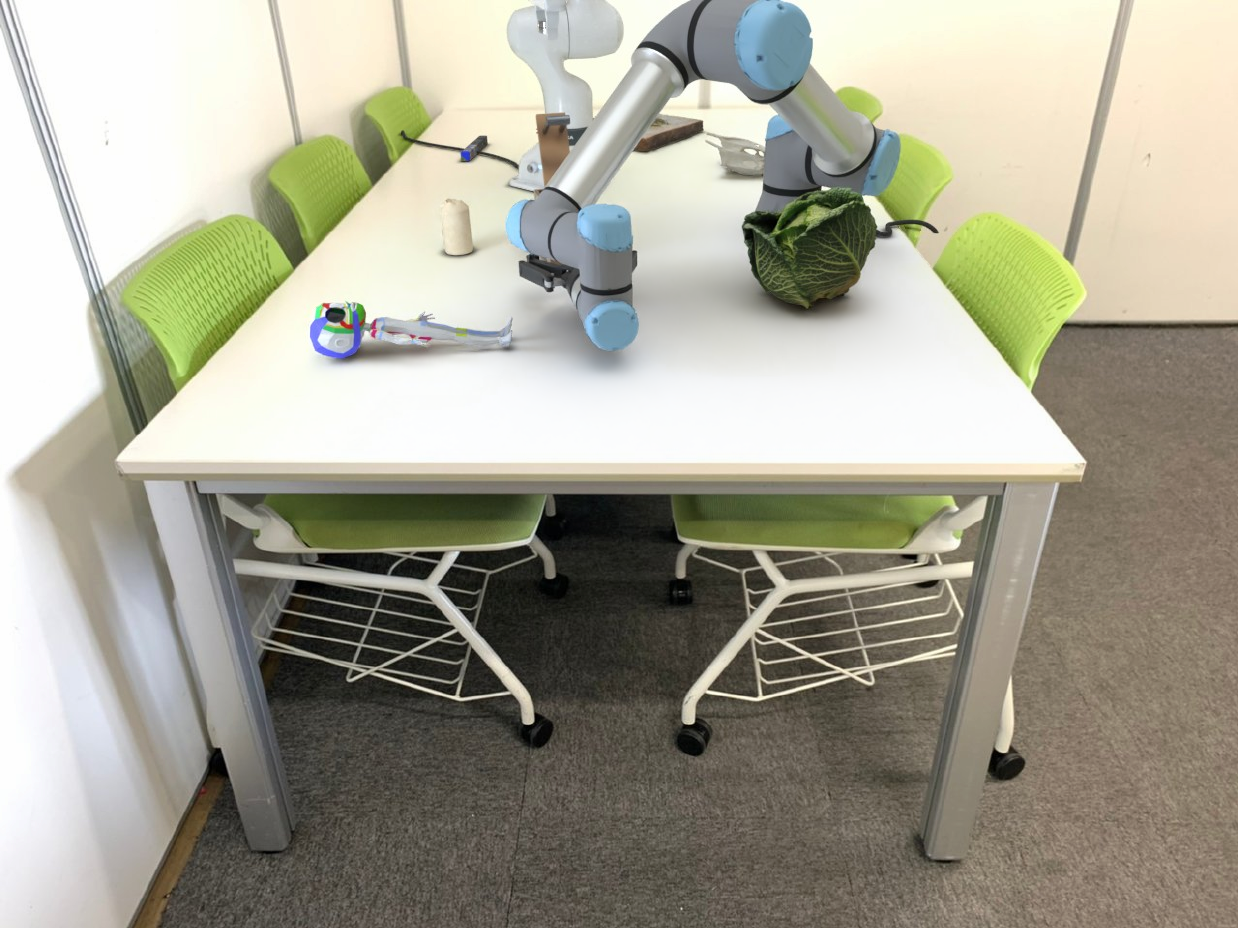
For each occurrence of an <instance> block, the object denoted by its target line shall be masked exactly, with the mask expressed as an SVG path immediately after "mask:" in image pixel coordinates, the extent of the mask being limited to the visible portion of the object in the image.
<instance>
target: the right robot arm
mask: <svg viewBox="0 0 1238 928" xmlns="http://www.w3.org/2000/svg"><path fill="white" fill-rule="evenodd" d="M811 33H812V27H811V23H810V21H809V19H808V17H807V15H806V14H805V12H804V11H803V10H802V8H800V7H799V6H797V5H796V4H794V3H792V2H788V1H783V0H687V1H686V2H684V3H682V4H680V5H679V6H677V7H676V8H674V9H673V10H671V11H670V12H669V13H668V14H667V15H665V16H664V17H663V18H662V19H661V20H660V21H659V22H657V24H655V25H654V26H653V27H652V29H650V31H648V33H647V34H646V35H645V37H643V38H642V40H641V41H640V43H639V44H638V45H637V47H636V48H635V50H634V51H633V52H632V54H631V57H630V63H631V67H630V68H629V69H628V71H627V72H626V74H625V75H624V76H623V77H622V79H621V80H620V81H619V83H618V85H617V86H616V88H615V89H614V90H613V92H612V93H611V95H610V96H608V98H607V100H606V101H605V103H604V104H603V105H602V107H601V109H600V110H598V113H597V114H596V115H595V116H596V117H595V116H594V117H593V118H594V119H593V121H592V122H591V124H590V125H589V126H588V128H587V129H586V131H585V132H584V133H583V135H582V136H581V138H580V139H579V140H578V142H577V143H576V145H575V146H574V147H573V149H572V150H571V151H570V153H569V154H568V156H567V157H566V158H565V160H564V161H563V163H562V164H561V165H560V167H559V168H558V170H557V171H556V172H555V174H554V175H553V177H552V178H551V179H550V181H549V182H548V183H547V185H546V186H545V188H544V190H543V191H542V192H541V193H540V195H539V196H538V197H537V199H536V200H534V199H522V200H519V201H518V202H517V203H514V204H513V205H512V207H511V208H510V209H509V210H508V213H507V216H506V219H505V233H506V236H507V239H508V240H509V242H510V244H511V245H513V246H514V247H515V248H516V249H519V250H521V251H523V252H526V253H528V254H527V255H526V256H525V259H526V260H524V259H522V260H521V259H520V260H518V274H519V277H520V278H523V279H525V280H527V281H529V282H531V283H533V284H535V285H537V286H540V287H541V288H543V289H544V290H545V292H547V293H553V292H554V289H555V288H556V287H562V288H563V289H565V290H566V291H567V293H568V296H569V299H570V300H571V302H572V304H573V306H574V308H575V310H576V312H577V315H578V317H579V319H580V320H581V323H582V325H583V328H584V329H583V330H584V332H585V334H586V335H587V336H588V338H589V339H590V340H591V342H592V343H593V344H594V345H595V346H596V347H597V348H599V349H600V350H604V351H607V352H617V351H620V350H623V349H625V348H626V347H628V346H630V345H631V344H632V343H633V341H635V339H636V337H637V336H638V333H639V330H640V329H639V328H640V321H639V318H638V313H637V312H636V309H635V308H634V304H633V302H634V301H633V300H634V298H633V297H634V296H633V295H634V294H633V293H634V292H633V291H634V290H633V289H634V288H633V287H634V286H633V273H634V272H635V270H636V269H637V267H638V251H637V250H634V249H633V244H634V236H633V231H632V217H631V213H630V212H629V210H628V209H627V208H626V207H623V206H622V205H619V204H613V203H612V204H608V203H597V202H598V200H599V199H600V198H601V196H602V195H603V193H604V192H605V191H606V190H607V188H608V187H609V185H610V184H611V182H612V181H613V179H614V178H615V176H616V175H617V174H618V172H619V171H620V169H621V168H622V167H623V165H624V164H625V163H626V161H627V160H628V158H629V157H630V156H631V154H632V153H633V151H635V150H634V148H635V147H636V146H637V144H638V143H639V141H640V140H641V139H642V137H643V136H644V134H645V133H646V132H647V130H648V129H649V127H650V126H651V124H652V123H653V122H654V120H655V119H656V117H657V116H658V115H659V114H661V112H662V110H663V109H664V108H665V107H666V105H667V104H668V102H669V101H670V99H674V98H678V97H679V96H681V95H682V94H683V92H684V91H685V90H686V88H687V87H688V85H690V84H692V83H693V82H695V81H699V80H705V81H711V82H718V83H723V84H730V85H733V86H734V87H736V88H737V89H738V90H739V92H741V93H742V94H743V95H744V96H745V97H746V98H747V99H748V100H750V101H751V102H753V103H754V104H757V105H762V106H767V105H768V106H770V108H772V110H774V111H775V113H776V115H773V116H772V117H771V118H770V119H769V120H768V122H767V127H766V132H765V133H766V134H765V138H764V142H765V143H764V144H765V146H764V147H765V159H764V174H762V175H763V177H762V192H761V195H760V197H759V200H758V202H757V205H756V207H755V209H754V212H755V211H758V210H762V211H774V212H777V211H779V210H781V209H784V208H785V207H786V205H787V204H789V203H791V202H792V201H793V200H795V199H796V198H798V197H800V196H802V195H804V194H806V193H809V192H814V191H822V187H823V188H829V189H831V188H832V187H834V188H836V187H840V188H852V190H853V191H854V192H856V193H859V194H861V195H862V197H864V196H865V197H866V196H868V197H877V196H880V195H882V194H883V193H884V192H885V191H886V190H887V189H888V187H889V186H890V185H891V183H892V181H893V179H894V176H895V174H896V171H897V169H898V168H897V167H898V166H899V162H900V156H901V149H902V143H901V137H900V135H899V134H898V133H897V132H896V131H893V130H890V129H888V128H887V129H885V130H884V129H881V128H878V127H876V126H875V125H874V124H873V122H872V121H871V120H870V119H869V118H868V117H867V116H866V115H865V114H863V113H861V112H859V111H854V110H853V111H852V110H850V109H849V108H848V106H846V104H845V103H844V102H843V101H842V100H841V99H840V97H839V96H838V95H837V94H836V93H835V92H834V90H833V89H832V87H830V85H829V84H828V83H827V82H826V80H825V79H824V78H823V77H822V76H821V75H820V73H819V72H818V71H817V69H815V68H814V66H813V65H812V63H811V61H812V56H813V50H814V49H813V47H814V39H813V37H810V36H811ZM904 225H916V226H922V227H924V228H926V229H928V230H929V231H931V233H932V234H940V232H939V230H938V229H937V228H936V227H935V226H934V225H933V224H931V223H929V222H927V221H925V220H921V219H902V220H894V221H893V220H892V221H889V222H886V223H885V230H886V231H881V230H879V229H878V228H877V229H876V234H875V236H878V237H890V236H891V235H893V229H892V227H896V226H904ZM540 257H541V258H545V259H546V258H548V259H551V260H554V261H557V262H559V263H562V265H558V264H554V263H551V262H548V261H547V260H543V259H540Z"/></svg>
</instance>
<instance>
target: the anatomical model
mask: <svg viewBox="0 0 1238 928" xmlns="http://www.w3.org/2000/svg"><path fill="white" fill-rule="evenodd" d="M705 135H706V136H710V137H714V138H717V139H718V140H719V141H720V145H721V146H720V145H719V144H716V143H714V142H712V141H710V140H707V139H705V143H707V145H710V146H712V147H714V148H716V149H717V150H718V154H719V156H720V166H721V167H725V169H726V170H727V171H729V172H736V173H737V174H739V175H742V176H760V175H763V174H764V159H765V146H764V145H762V144H760V143H758V142H754V141H752V140H750V139H745V138H741V137H737V136H727V135H726V136H725V135H721V134H717V133H714V132H709V131H708V132H706V134H705ZM746 150H754V151H755V154H751V153H749V152H748V151H746ZM761 152H762V154H763V155H761V154H760V153H761Z"/></svg>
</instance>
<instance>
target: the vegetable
mask: <svg viewBox="0 0 1238 928" xmlns="http://www.w3.org/2000/svg"><path fill="white" fill-rule="evenodd" d="M871 212H872V209H871V207H870V205H869V204H866V203H865V200H864V196H862V195H861V194H859V193H856V192H854V191H853V190H852V188H840V187H836V188H834V187H832V188H829V189H826V190H821V191H814V192H809V193H806V194H804V195H802V196H800V197H798V198H796V199H795V200H793V201H792V202H791V203H789V204H787V205H786V207H785V208H784V209H781V210H779V211H777V212H774V211H762V210H758V211H755V210H754V211H752V212H749V213H747V214H746V215H745V216H744V218H743V220H744V221H742V224H741V230H742V233H743V239H744V240H743V243H744V245H745V246H746V247H747V256H748V259H749V264H750V266H751V269H750V271H751V273H752V275H753V277H754V278H755V279H756V280H757V282H758V284H759V285H760V287H762V289H763V290H764V292H765V293H767V292H770V293H771V294H772V295H774V297H776V298H778V299H779V300H781V301H782V302H785V303H788V304H792V305H800V306H802V307H804V308H805V309H807V310H808V309H809V307H814V304H813V302H816V301H817V300H818V299H824V298H825V299H829V300H833V299H834V298H835V297H844V295H845V294H847V293H849V291H850V289H851V288H852V287H854V286H855V285H856V284H857V283H858V282H859V280H860V278H861V275H862V271H863V268H864V267H865V263H866V261H867V259H868V256H869V255H870V252H871V251H872V250H874V249H875V247H876V240H877V235H876V229H877V230H878V225H877V223H876V218H875V217H874V215H873V214H872V213H871Z"/></svg>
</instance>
